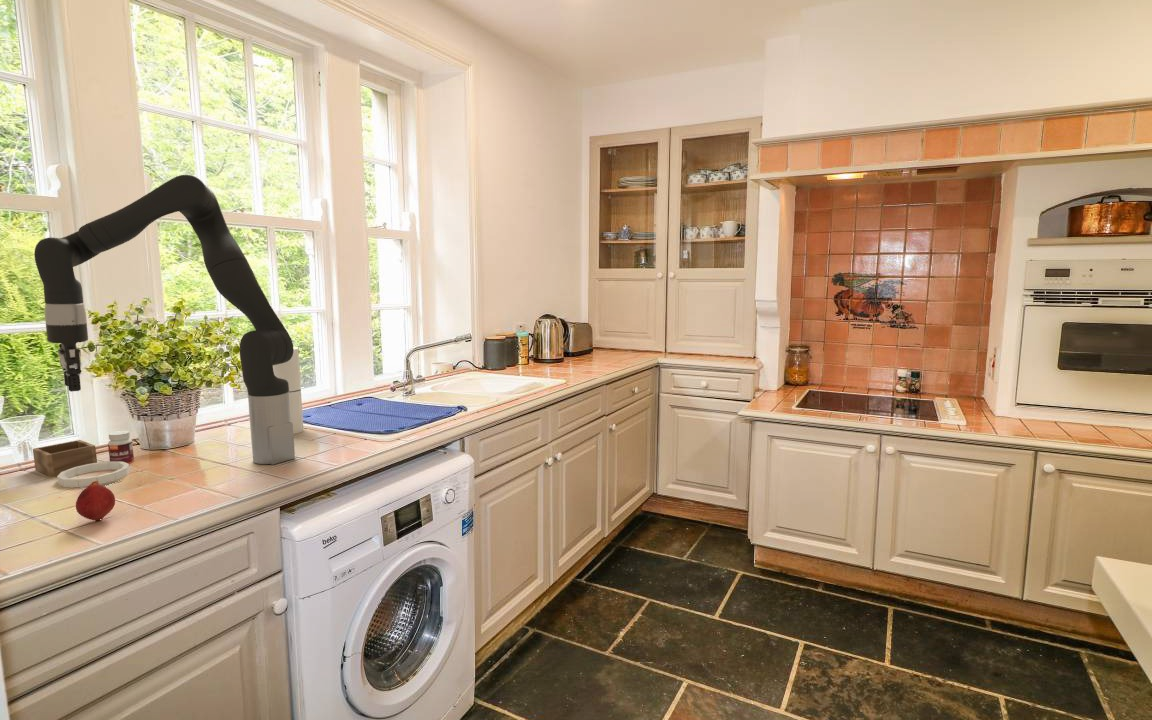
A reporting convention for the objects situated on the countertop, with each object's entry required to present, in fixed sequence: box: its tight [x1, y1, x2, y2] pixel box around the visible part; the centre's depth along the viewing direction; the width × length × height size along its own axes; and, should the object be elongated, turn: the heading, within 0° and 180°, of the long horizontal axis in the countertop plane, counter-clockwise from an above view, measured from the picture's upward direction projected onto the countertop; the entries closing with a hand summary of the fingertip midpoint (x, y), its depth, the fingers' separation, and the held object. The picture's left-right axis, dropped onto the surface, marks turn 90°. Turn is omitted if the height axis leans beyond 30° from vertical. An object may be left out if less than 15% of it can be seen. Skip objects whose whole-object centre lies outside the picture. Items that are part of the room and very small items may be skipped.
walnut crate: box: [32, 439, 98, 478], centre depth 141 cm, size 9×9×6 cm
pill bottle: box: [107, 430, 135, 465], centre depth 145 cm, size 5×5×8 cm
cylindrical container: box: [273, 346, 304, 435], centre depth 175 cm, size 7×7×25 cm
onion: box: [75, 480, 116, 521], centre depth 113 cm, size 6×6×8 cm
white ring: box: [56, 460, 131, 488], centre depth 135 cm, size 12×12×2 cm
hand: (72, 388), depth 145 cm, fingers open, 8 cm apart
